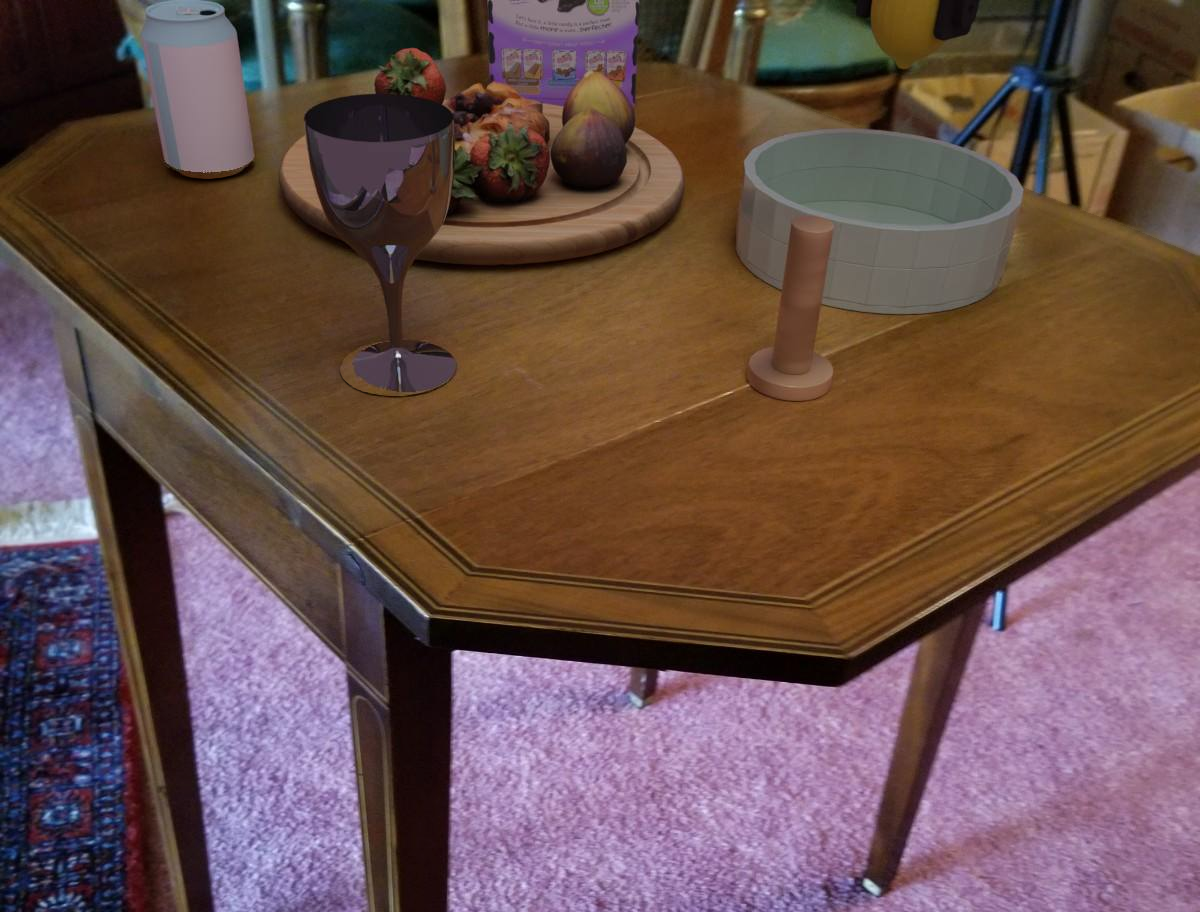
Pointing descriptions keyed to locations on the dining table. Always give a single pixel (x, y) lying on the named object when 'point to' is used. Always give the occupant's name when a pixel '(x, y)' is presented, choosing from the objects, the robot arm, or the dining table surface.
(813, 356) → the stirrer
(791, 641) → the dining table surface
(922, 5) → the lemon
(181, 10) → the can
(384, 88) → the wooden plate
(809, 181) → the bowl
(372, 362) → the wine glass
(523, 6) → the candy box
